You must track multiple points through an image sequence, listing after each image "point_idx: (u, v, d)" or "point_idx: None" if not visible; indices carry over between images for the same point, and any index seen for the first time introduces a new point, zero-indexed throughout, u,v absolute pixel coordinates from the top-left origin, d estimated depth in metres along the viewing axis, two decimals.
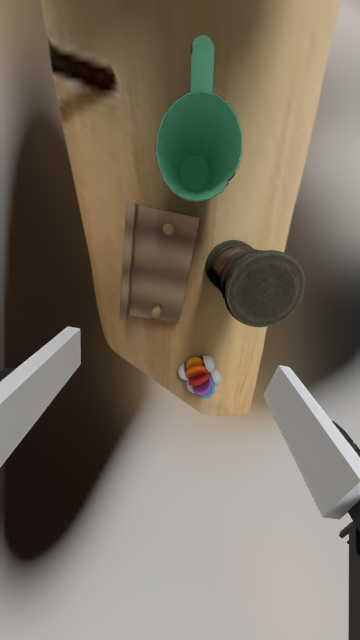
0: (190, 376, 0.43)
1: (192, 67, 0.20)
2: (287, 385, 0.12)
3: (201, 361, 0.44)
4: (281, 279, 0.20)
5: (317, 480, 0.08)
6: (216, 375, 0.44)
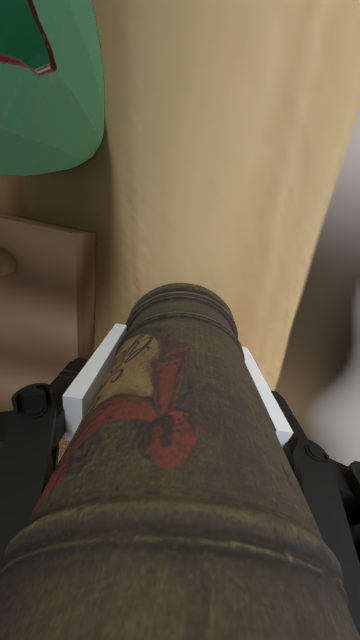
0: None
1: None
2: None
3: None
4: None
5: None
6: None
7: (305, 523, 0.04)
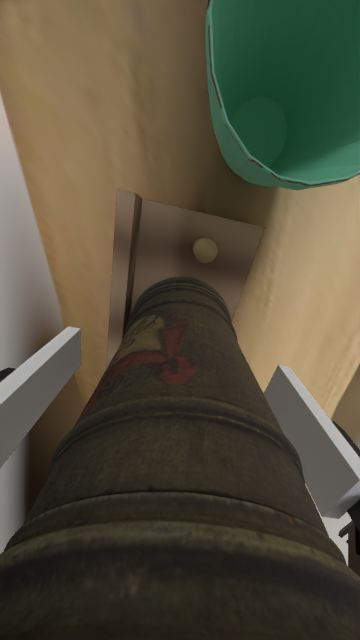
0: None
1: None
2: (287, 385, 0.12)
3: None
4: None
5: (316, 479, 0.09)
6: None
7: (273, 424, 0.06)
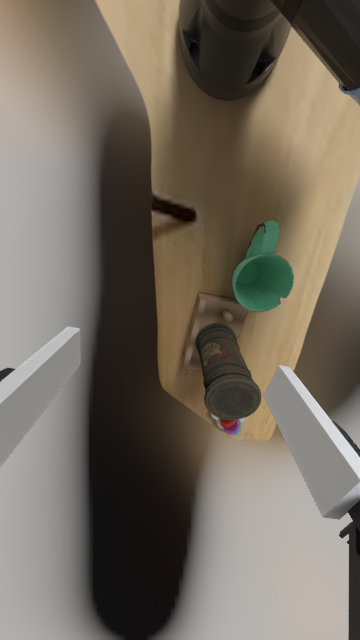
0: None
1: (264, 240, 0.30)
2: (287, 385, 0.12)
3: None
4: (243, 394, 0.28)
5: (317, 480, 0.08)
6: None
7: (245, 367, 0.32)
